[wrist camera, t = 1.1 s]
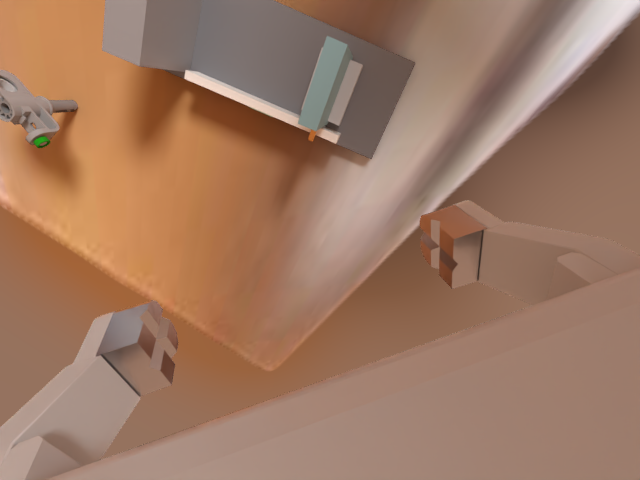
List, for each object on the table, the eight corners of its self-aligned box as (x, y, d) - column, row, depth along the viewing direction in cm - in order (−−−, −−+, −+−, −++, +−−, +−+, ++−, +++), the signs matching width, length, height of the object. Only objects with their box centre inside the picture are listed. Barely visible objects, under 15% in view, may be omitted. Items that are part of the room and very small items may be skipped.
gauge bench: (182, -38, 38) (111, -88, 28) (413, 63, 39) (429, 52, 29) (166, 69, 43) (101, 61, 33) (371, 157, 44) (371, 176, 34)
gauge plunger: (325, 44, 38) (311, 28, 29) (364, 61, 38) (362, 51, 29) (297, 129, 42) (277, 138, 33) (332, 144, 42) (321, 157, 33)
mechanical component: (92, 141, 49) (30, 152, 40) (39, 80, 46) (-41, 76, 37) (104, 130, 48) (42, 138, 39) (51, 66, 45) (-29, 59, 36)
